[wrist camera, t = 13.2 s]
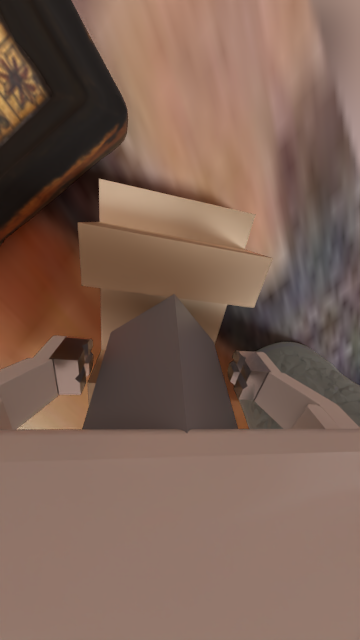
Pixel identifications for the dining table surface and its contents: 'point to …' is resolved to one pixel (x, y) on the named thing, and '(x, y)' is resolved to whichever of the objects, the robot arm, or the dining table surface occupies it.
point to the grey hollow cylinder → (305, 382)
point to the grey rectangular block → (160, 375)
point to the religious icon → (50, 106)
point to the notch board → (172, 222)
